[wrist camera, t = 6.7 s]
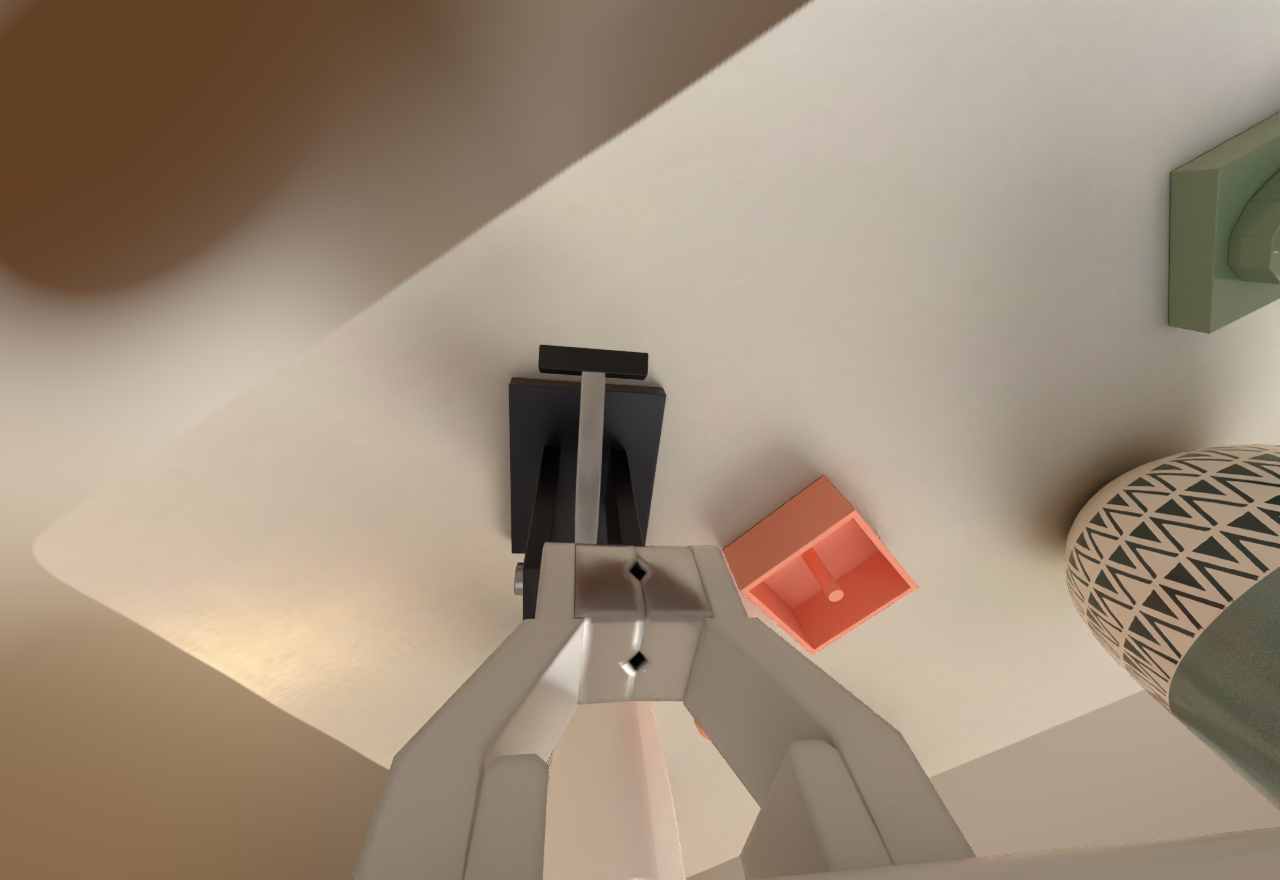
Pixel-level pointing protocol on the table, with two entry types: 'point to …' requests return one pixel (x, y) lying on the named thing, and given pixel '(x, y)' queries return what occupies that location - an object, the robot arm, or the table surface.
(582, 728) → the cup
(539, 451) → the bracket
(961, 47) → the table surface
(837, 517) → the pottery
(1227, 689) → the planter
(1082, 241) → the table surface
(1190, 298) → the control block
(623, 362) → the lever
